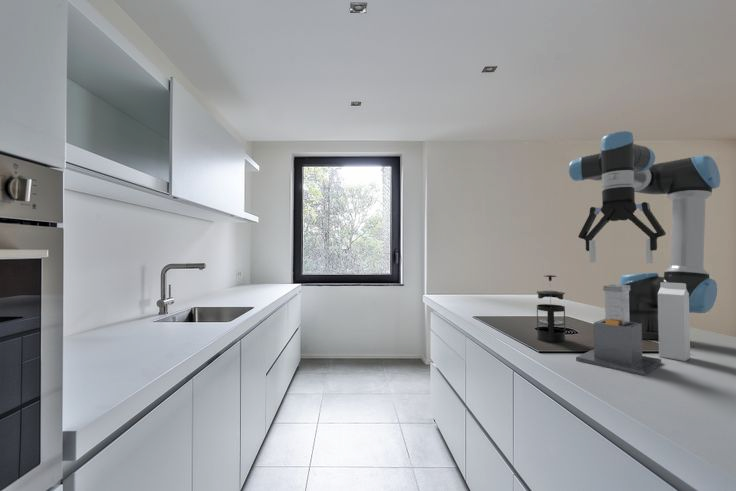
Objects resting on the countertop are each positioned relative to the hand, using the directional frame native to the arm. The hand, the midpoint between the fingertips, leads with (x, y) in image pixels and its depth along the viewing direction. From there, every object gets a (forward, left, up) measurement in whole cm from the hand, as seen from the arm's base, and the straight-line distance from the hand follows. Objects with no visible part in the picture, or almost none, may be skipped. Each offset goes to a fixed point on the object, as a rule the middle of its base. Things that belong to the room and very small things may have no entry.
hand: (619, 262), depth 101 cm
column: (0, -1, -27) cm, 27 cm away
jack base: (0, -1, -28) cm, 28 cm away
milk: (-18, +8, -28) cm, 35 cm away
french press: (-12, -25, -28) cm, 40 cm away
